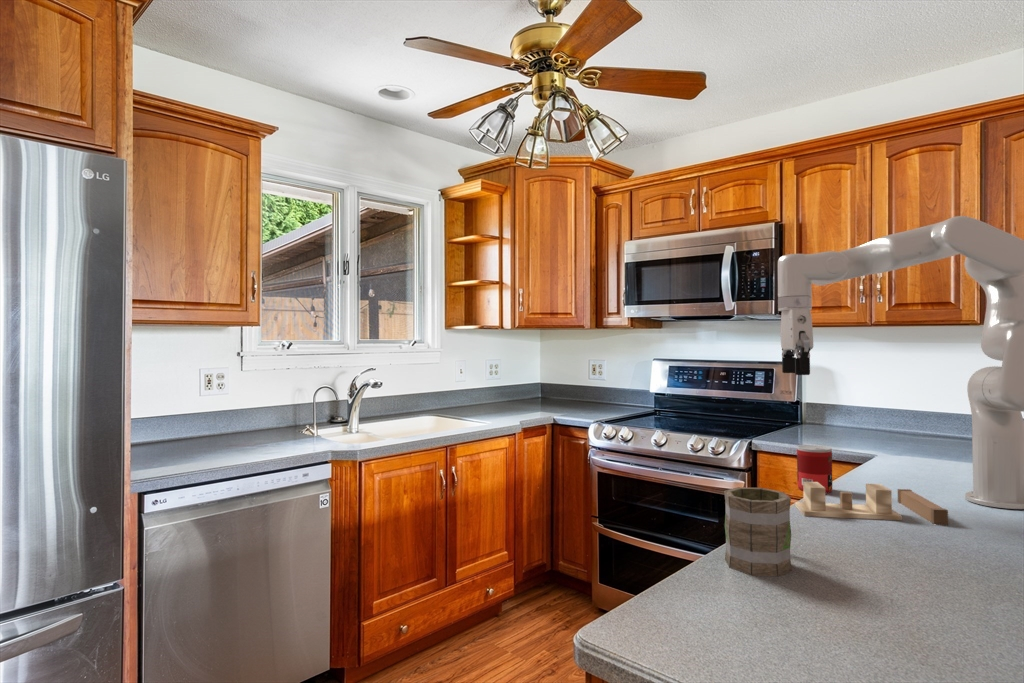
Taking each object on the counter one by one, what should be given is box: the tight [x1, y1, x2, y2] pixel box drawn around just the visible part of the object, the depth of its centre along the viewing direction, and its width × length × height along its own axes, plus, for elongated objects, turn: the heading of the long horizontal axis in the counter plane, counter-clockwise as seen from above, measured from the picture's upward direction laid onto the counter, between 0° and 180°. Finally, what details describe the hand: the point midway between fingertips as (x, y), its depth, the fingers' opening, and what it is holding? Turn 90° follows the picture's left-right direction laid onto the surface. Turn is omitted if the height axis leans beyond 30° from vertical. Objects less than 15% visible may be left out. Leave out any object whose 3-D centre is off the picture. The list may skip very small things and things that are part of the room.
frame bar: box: [897, 488, 949, 526], centre depth 133 cm, size 18×3×3 cm, turn 168°
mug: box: [723, 486, 793, 577], centre depth 105 cm, size 16×11×12 cm
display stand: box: [794, 482, 903, 521], centre depth 133 cm, size 19×8×6 cm, turn 78°
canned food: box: [796, 444, 833, 495], centre depth 154 cm, size 8×8×11 cm
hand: (795, 373), depth 149 cm, fingers open, 9 cm apart
